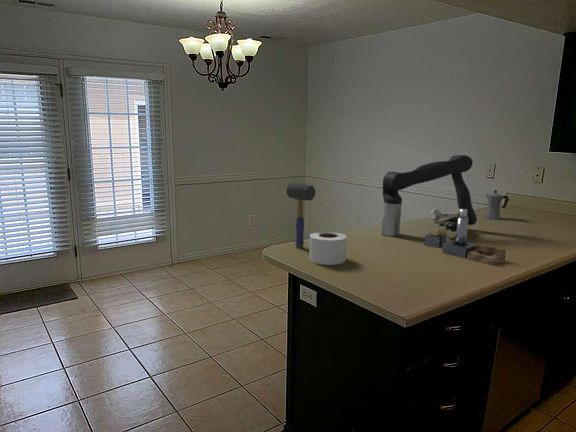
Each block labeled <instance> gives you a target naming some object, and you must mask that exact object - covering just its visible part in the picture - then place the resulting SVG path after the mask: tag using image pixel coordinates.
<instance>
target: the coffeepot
mask: <svg viewBox="0 0 576 432" xmlns="http://www.w3.org/2000/svg"><path fill="white" fill-rule="evenodd" d="M493 192H494V193H485V194H484V196H485V197H486V198H487V199H486V200H487V205H488V206H487V209H486V212H485V217H484V218H485V219H487V218H488V220H493V221H494V220H495V221H498V220H500V219H501V210H500V208H501V209H505V208H506V207H507V205H508V203H509V200H510V199H509V197H508V195H505V194H504V195H503V194H500V193H497V192H498V190H494V191H493ZM503 199H504V203H503V206H501V204H502V201H503Z"/></svg>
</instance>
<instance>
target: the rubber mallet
mask: <svg viewBox="0 0 576 432" xmlns="http://www.w3.org/2000/svg"><path fill="white" fill-rule="evenodd" d="M286 195H287V197H288V198H290V199H294V200H297V216H296V219H295V220H296V221H295V231H296V233H295V234H296V235H295V237H296V238H295V241H294V242H295V247H296V248H303V247H304V244H305V243H304V231H305V229H304V228H305V219H304V201H308V202H309V201H312V200H313V199H314V198H315V197H316V189H315V186H313V185H310V184H306V183H305V184H304V183H297V182H291V183H289V184H288V185H287V187H286Z"/></svg>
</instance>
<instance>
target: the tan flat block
mask: <svg viewBox="0 0 576 432" xmlns="http://www.w3.org/2000/svg"><path fill="white" fill-rule="evenodd" d="M447 231H448V230H447V227H444V226H440V227H438V226H437V227H435V228H433V229H431V230H430V233H431V236H435V237H439V236H440V235H442V234H447Z"/></svg>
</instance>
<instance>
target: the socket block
mask: <svg viewBox="0 0 576 432" xmlns="http://www.w3.org/2000/svg"><path fill="white" fill-rule="evenodd" d="M455 243H456V239H454V240H448V241H446V243H443V246H442V252H441V253H442V254H445V255H450V256H452V257H453V256H454V257H457V258H461V259H467V252H469V251H472V250H475V249H477V246H478V244H476V243H474V242H473V243H472V242H468V241H466V246H460V245H456V244H455Z"/></svg>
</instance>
